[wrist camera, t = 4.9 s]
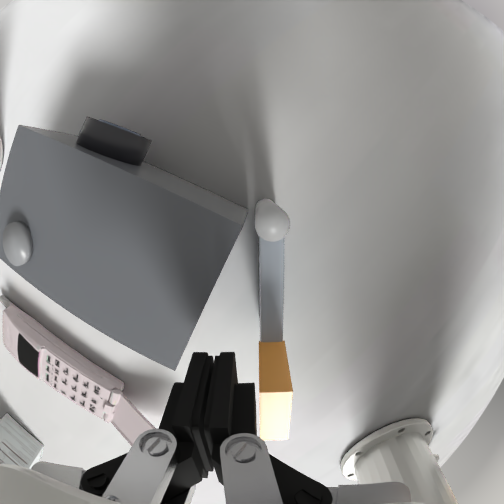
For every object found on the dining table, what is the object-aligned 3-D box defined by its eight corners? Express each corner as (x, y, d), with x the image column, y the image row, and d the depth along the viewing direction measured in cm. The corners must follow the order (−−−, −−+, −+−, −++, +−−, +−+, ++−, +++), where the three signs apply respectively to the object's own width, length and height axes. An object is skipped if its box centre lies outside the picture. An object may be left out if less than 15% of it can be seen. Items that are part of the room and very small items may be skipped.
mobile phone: (168, 480, 19) (-25, 347, 16) (179, 440, 25) (4, 326, 22) (189, 457, 18) (-29, 306, 15) (199, 412, 24) (6, 287, 21)
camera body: (259, 187, 18) (262, 187, 10) (201, 307, 21) (171, 377, 12) (96, 118, 17) (23, 94, 9) (58, 229, 19) (-15, 253, 11)
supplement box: (6, 411, 27) (-38, 464, 10) (45, 445, 28) (6, 505, 12) (7, 428, 29) (-29, 475, 12) (42, 458, 30) (10, 510, 13)
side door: (275, 198, 19) (304, 214, 8) (275, 322, 21) (290, 439, 10) (255, 198, 19) (253, 215, 8) (257, 323, 21) (257, 440, 10)
